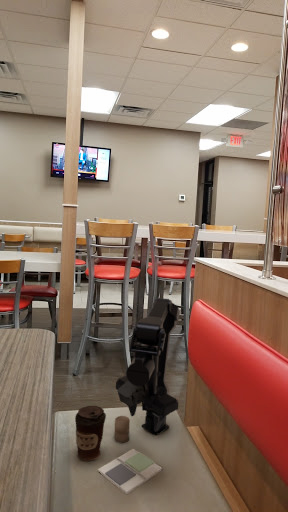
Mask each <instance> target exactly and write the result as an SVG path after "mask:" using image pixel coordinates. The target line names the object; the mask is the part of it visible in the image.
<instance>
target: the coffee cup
mask: <svg viewBox="0 0 288 512" xmlns="http://www.w3.org/2000/svg"><path fill="white" fill-rule="evenodd" d="M106 417H107V415H106V413H105V410H104V409H103V408H102V407H101V406H98V405H87V406H84V407H80V408H79V409H78V411H77V413H76V414H75V416H74V418H75V419H74V420H75V436H76V437H75V442H76V443H75V444H76V447H77V452H76V453H77V457H78V459H80V460H82V461H86V462H87V461H95V460H97V459H99V458H100V456H101V450H100V449H101V444H102V440H103V436H104V428H105V427H104V425H105V422H106V419H107V418H106Z"/></svg>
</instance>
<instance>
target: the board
mask: <svg viewBox="0 0 288 512" xmlns="http://www.w3.org/2000/svg"><path fill="white" fill-rule="evenodd" d="M162 470H163V467H161V466H160V465H158V464H157V463H155V461H153V460H152V459H150V458H149V457H148V456H146V455H144V454H143V453H141V452H139V451H137V450H136V449H135V448H131V450H129V451H127V452H125V453H123V454H122V455H120V456H115V459H113V460H111V461H109V462H108V463H106V464H105V465H103V466H101V467H99V468H97V473H99V472H100V473H101V475H102V476H103V477H104V478H105V479H106V480H108V481H109V482H111V483H112V484H113V485H114V486H115V487H117V488H118V489H119V490H120V491H121V492H122V493H124V494H125V495H128V494H130V492H132V491H134V490H135V489H137V488H138V487H140V486H141V485H143V484H144V483H145V482H147V481H148V480H149V479H151V478H152V477H154V476H155V475H157V474H159V473H160V472H161V471H162ZM100 473H99V474H100Z"/></svg>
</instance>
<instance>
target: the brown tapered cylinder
mask: <svg viewBox="0 0 288 512" xmlns="http://www.w3.org/2000/svg"><path fill="white" fill-rule="evenodd" d="M130 421H131V419H130V418H129V417H128V416H126V415H120V416H116V417H115V418H114V436H113V437H114V438H113V439H115V440H114V441H115V442H116V443H118V442H119V444H124V443H127V442H128V441H129V439H130V425H131V423H130Z"/></svg>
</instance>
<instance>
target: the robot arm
mask: <svg viewBox="0 0 288 512" xmlns="http://www.w3.org/2000/svg"><path fill="white" fill-rule="evenodd" d="M151 307H152V308H151V309H150V312H149V313H148V315H147V316H146V317H143V318H140V320H138V321H137V322H136V324H135V325H134V327H133V330H132V334H131V335H132V336H131V341H130V346H129V353H130V352H131V353H134V358H133V359H132V361H131V362H130V364H129V365H128V366H127V369H126V371H125V373H126V375H124V376H122V377H118V378H117V380H116V381H115V390H117V394H118V398H119V401H120V402H121V403H124V404H125V405H126V406H128V407H127V408H128V410H129V414H130V417H134V416H135V415H136V412H137V406H138V405H140V404H141V411H144V412H146V413H145V418H144V423H143V424H142V425H141V427H142V429H144V430H146V431H148V432H149V433H151V434H152V435H155V436H158V435H160V434H161V433H163V432H164V431H167V430H168V429H170V425H168V424H167V423H166V422H167V416H168V415H170V414H172V413H174V412H175V411H177V410H178V409H179V400H178V399H177V398H175V397H173V396H172V395H170V394H169V393H170V388H169V385H168V384H167V381H166V376H167V369H168V366H167V365H168V357H169V349H170V340H171V335H172V332H173V331H174V330H175V328H176V327H177V322H179V319H180V308H179V306H178V305H177V304H175V303H173V301H172V300H171V299H170V298H163V297H157V298H155V299H154V301H153V303H152V306H151Z"/></svg>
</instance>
